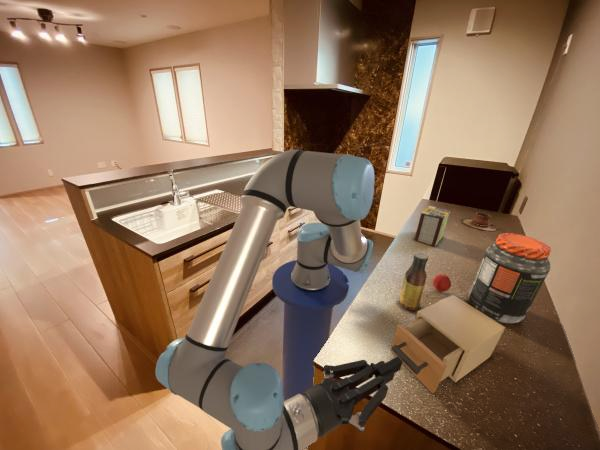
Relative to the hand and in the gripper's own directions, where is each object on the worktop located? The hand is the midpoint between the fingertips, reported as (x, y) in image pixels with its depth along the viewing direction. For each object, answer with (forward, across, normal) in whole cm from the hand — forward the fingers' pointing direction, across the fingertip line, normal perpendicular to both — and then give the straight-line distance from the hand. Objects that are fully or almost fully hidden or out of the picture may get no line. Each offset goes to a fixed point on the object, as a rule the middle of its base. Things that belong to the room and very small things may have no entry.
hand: (398, 363), depth 56 cm
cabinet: (+22, 0, +7) cm, 23 cm away
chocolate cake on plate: (+128, +48, +7) cm, 136 cm away
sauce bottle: (+26, +17, +7) cm, 32 cm away
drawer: (+11, 0, +6) cm, 12 cm away
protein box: (+79, +48, +7) cm, 93 cm away
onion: (+43, +17, +7) cm, 47 cm away
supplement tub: (+52, +3, +7) cm, 52 cm away
